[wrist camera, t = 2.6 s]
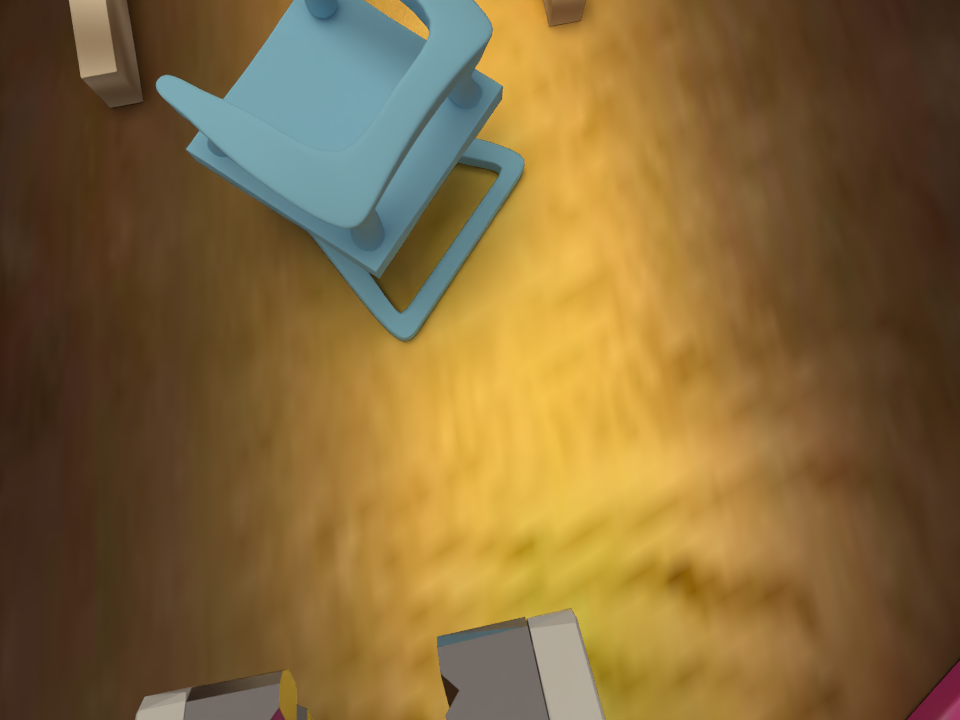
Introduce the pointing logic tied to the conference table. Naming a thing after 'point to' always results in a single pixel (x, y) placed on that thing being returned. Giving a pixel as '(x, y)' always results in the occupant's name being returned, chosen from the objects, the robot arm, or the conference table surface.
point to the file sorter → (942, 700)
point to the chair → (359, 134)
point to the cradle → (114, 58)
